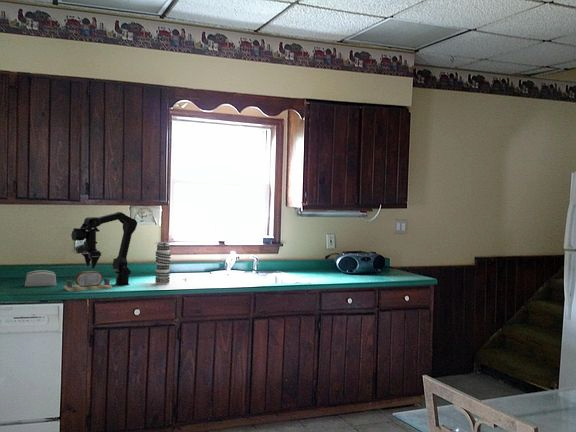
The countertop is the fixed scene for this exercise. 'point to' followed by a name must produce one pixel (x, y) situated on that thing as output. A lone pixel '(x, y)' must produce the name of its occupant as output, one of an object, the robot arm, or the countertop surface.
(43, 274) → the grey arched block
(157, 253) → the decorative candle
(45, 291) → the countertop surface
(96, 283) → the tin
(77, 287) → the tan long piece
